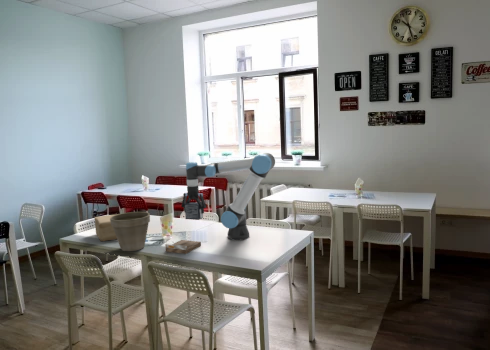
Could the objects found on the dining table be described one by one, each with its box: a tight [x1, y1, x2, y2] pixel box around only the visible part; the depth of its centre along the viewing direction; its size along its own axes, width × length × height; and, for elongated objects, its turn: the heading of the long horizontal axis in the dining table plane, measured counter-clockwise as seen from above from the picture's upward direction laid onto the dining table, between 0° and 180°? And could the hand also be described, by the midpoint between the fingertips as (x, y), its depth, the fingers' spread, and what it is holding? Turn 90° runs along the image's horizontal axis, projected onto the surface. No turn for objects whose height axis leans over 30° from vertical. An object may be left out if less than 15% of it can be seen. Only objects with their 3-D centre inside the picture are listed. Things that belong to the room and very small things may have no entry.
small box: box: [184, 202, 201, 221], centre depth 279 cm, size 11×6×10 cm, turn 67°
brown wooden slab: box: [164, 239, 202, 255], centre depth 264 cm, size 15×18×4 cm
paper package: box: [94, 213, 119, 242], centre depth 303 cm, size 27×26×14 cm
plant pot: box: [110, 211, 151, 252], centre depth 268 cm, size 25×25×22 cm
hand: (194, 217), depth 279 cm, fingers closed on small box, 10 cm apart
